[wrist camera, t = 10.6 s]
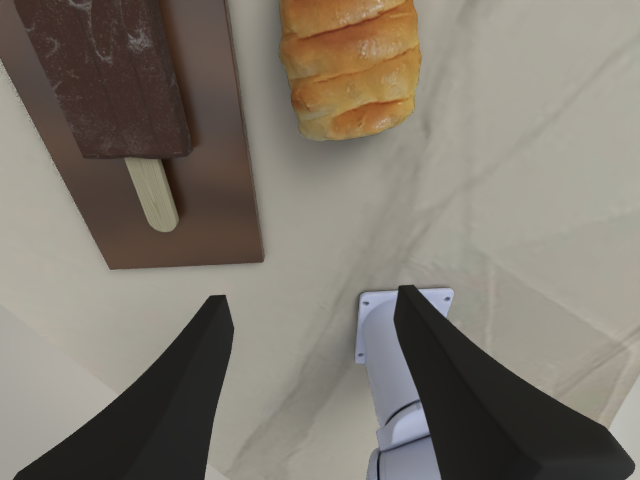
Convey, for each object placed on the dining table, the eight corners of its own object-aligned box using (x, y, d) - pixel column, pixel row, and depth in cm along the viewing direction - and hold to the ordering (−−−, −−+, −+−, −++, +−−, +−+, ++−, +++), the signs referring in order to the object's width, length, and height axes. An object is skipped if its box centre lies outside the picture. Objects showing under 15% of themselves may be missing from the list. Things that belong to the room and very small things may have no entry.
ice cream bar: (212, 222, 20) (131, -118, 11) (205, 235, 18) (108, -140, 10) (130, 225, 19) (-14, -121, 11) (117, 239, 18) (-58, -144, 10)
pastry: (246, -73, 13) (230, -114, 9) (401, -122, 12) (439, -182, 9) (303, 142, 18) (305, 162, 15) (413, 113, 17) (441, 127, 14)
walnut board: (264, 256, 22) (263, 262, 22) (115, 263, 22) (109, 270, 21) (191, -254, 10) (184, -275, 10) (-148, -265, 10) (-182, -288, 9)
